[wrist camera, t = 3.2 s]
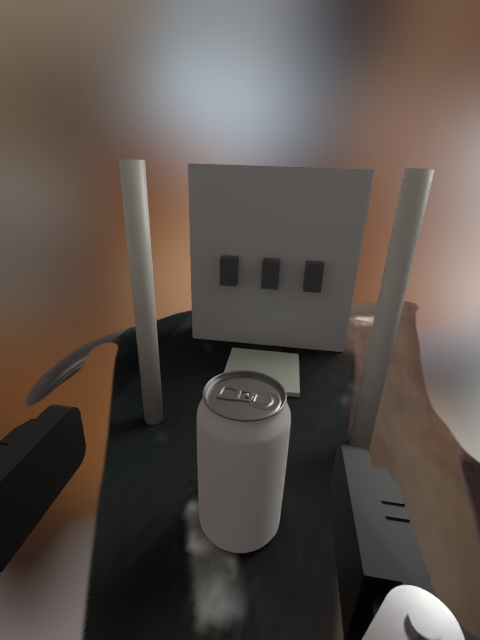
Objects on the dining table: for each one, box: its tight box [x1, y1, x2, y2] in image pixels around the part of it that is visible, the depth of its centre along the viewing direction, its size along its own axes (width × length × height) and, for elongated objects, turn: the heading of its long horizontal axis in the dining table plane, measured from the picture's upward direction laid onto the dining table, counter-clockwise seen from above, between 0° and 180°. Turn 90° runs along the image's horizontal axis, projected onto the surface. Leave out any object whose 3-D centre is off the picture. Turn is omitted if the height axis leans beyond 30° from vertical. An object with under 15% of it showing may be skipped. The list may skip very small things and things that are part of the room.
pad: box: [224, 348, 300, 397], centre depth 48 cm, size 10×10×1 cm
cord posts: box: [119, 159, 434, 450], centre depth 32 cm, size 2×24×26 cm, turn 82°
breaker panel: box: [188, 164, 374, 352], centre depth 51 cm, size 7×24×26 cm, turn 82°
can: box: [197, 370, 291, 553], centre depth 26 cm, size 6×6×12 cm
